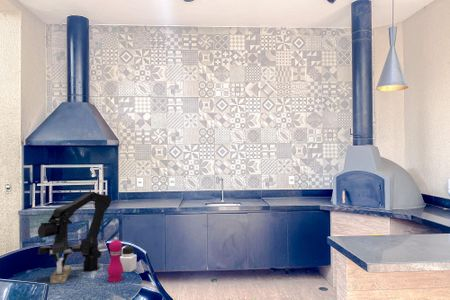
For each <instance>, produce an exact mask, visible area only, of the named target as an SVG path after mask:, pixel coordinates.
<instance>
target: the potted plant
mask: <svg viewBox="0 0 450 300" xmlns="http://www.w3.org/2000/svg"><path fill="white" fill-rule="evenodd" d="M134 249H135V248H134V246H132V245H124V246H122V248H121V255H120V261H121V264H122V266H123V272H124V273H131V272H133V271H134V270H136V269H137V257H138V256H137V254H134V251H135V250H134ZM123 272H122V273H123Z"/></svg>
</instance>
